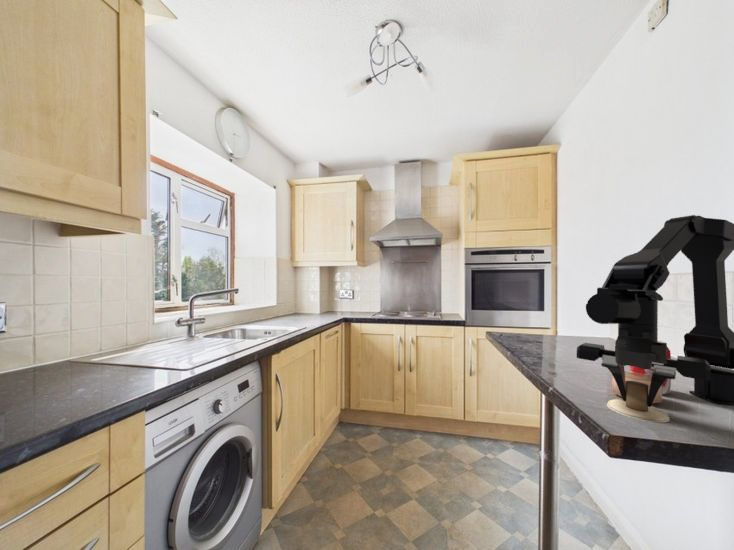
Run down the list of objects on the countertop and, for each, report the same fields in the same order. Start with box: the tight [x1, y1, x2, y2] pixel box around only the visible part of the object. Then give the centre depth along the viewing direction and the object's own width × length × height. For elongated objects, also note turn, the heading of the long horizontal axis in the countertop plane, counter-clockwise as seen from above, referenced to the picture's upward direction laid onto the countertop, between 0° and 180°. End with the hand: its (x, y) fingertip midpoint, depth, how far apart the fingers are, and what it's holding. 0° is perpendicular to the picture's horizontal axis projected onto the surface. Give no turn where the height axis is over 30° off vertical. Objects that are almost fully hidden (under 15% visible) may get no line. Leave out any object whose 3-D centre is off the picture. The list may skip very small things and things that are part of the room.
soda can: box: [629, 340, 672, 396], centre depth 70 cm, size 7×7×12 cm
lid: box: [607, 381, 669, 423], centre depth 57 cm, size 9×9×5 cm
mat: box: [606, 403, 671, 423], centre depth 57 cm, size 9×9×1 cm
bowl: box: [611, 370, 663, 404], centre depth 65 cm, size 8×8×5 cm
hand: (636, 403), depth 57 cm, fingers closed on lid, 3 cm apart
